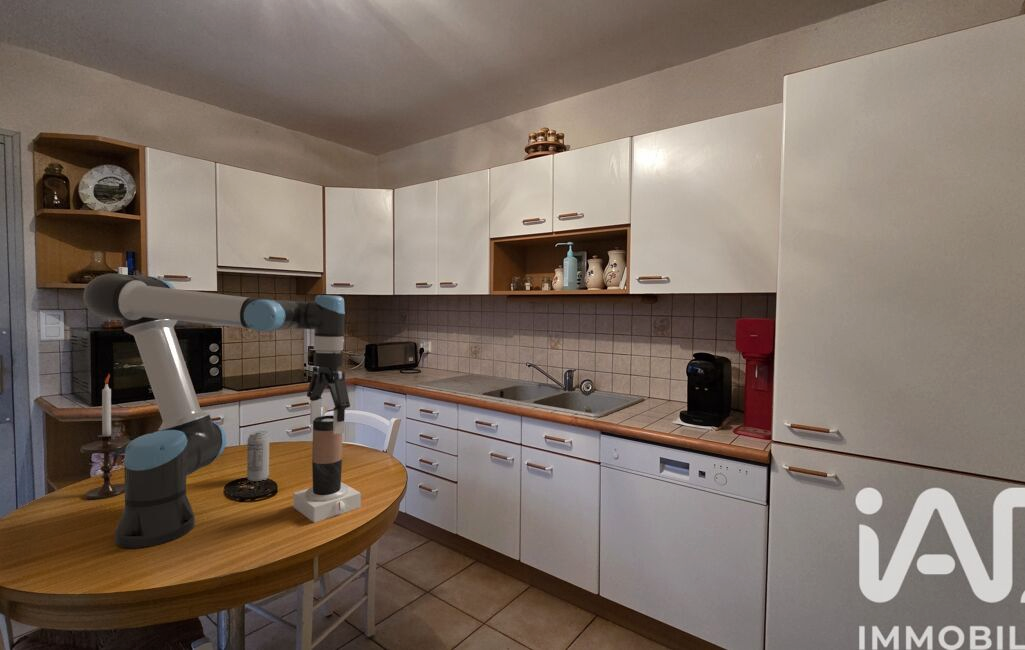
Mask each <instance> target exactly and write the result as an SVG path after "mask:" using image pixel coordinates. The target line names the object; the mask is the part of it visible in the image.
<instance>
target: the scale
mask: <svg viewBox="0 0 1025 650" xmlns="http://www.w3.org/2000/svg"><path fill="white" fill-rule="evenodd" d="M292 494H293V495H292V496H293V497H292V498H293V499H292V501H293V502H292V503H293V504H292V505H293V506H292V508H294V509H295V510H296V511H298V513H300V514H302V515H303V516H305V517H306V518H307V519H308V520H310V521H311V522H313V523H314V524H315V523H318V522H321V521H323V520H327V519H329V518H332V517H336V516H339V515H342V514H344V513H347V512H350V511H353V510H356V509H360V508H362V493H361V492H360V491H359V490H356V489H354V488H353V487H351V486H349V485H347V484H345V483H344V482H342V481H341V488H340V490H339V491H338V492H336V493H333V494H329V495H317V494H314V493H313V486H311V487H309V488H305V489H302V490H299V491H295V492H293V493H292Z"/></svg>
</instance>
